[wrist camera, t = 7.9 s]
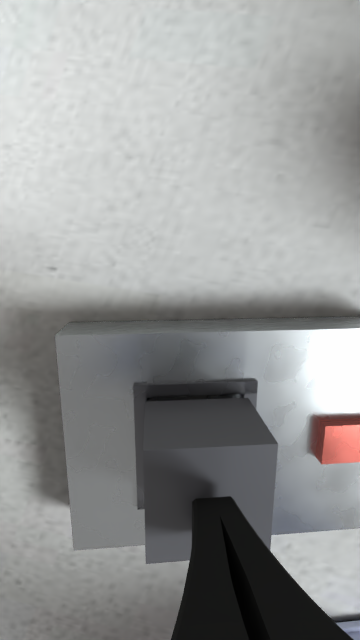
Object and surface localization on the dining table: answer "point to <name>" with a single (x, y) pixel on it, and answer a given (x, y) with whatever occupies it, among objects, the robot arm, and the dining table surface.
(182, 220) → the dining table surface
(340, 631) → the robot arm
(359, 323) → the socket plate
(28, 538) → the dining table surface
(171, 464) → the plug
